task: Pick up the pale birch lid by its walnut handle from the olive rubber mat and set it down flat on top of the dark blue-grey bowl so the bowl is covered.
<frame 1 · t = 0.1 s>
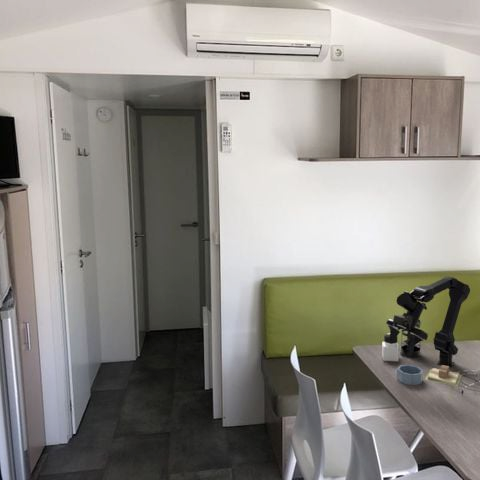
hand: (398, 347, 205), 15 cm above the table, tool tilted 30°, fingers open, 9 cm apart
bowl: (409, 380, 206), on the table
mat: (443, 378, 208), on the table
medicine bottle: (390, 358, 230), on the table
lid: (443, 377, 208), resting on mat
french press: (410, 354, 234), on the table
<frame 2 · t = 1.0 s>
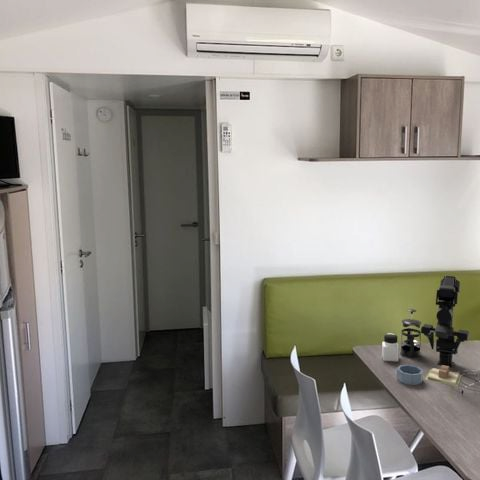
hand: (443, 351, 206), 12 cm above the table, tool pointing down, fingers open, 9 cm apart
nothing on the table moved.
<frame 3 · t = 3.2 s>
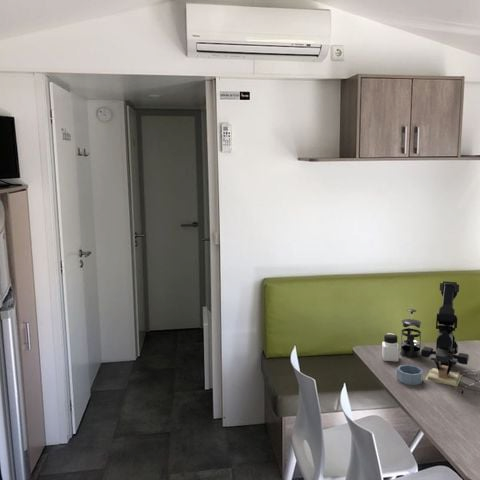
hand: (443, 373, 207), 2 cm above the table, tool pointing down, fingers closed on lid, 3 cm apart
lid: (443, 377, 208), resting on mat, touching gripper
everything else where it was.
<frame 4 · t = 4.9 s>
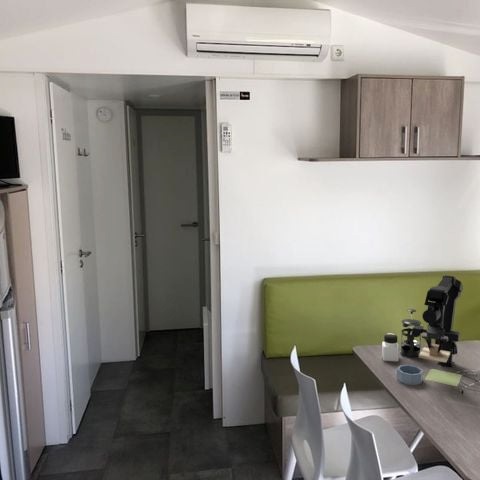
hand: (434, 352, 205), 12 cm above the table, tool pointing down, fingers closed on lid, 3 cm apart
lid: (434, 355, 205), point 11 cm above the table, touching gripper
everything else where it was.
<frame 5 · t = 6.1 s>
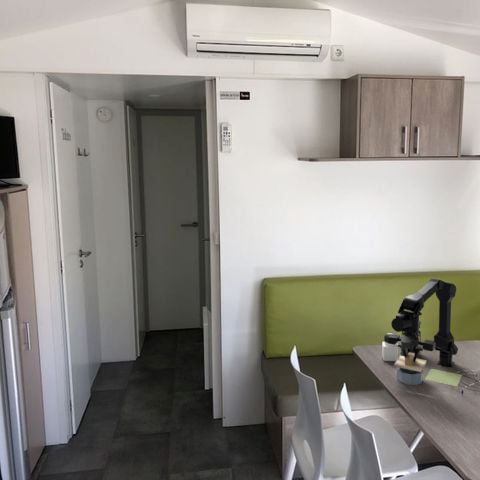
hand: (410, 361, 205), 9 cm above the table, tool pointing down, fingers closed on lid, 3 cm apart
lid: (410, 364, 205), point 7 cm above the table, touching gripper
everything else where it was.
when the fingers open (8 cm above the table, at t = 6.9 s): lid drops 1 cm, resting on bowl.
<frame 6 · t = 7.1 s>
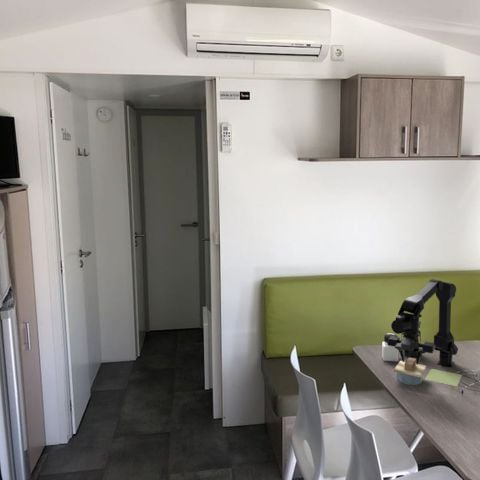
hand: (410, 363, 205), 8 cm above the table, tool pointing down, fingers open, 5 cm apart
lid: (410, 369, 205), point 5 cm above the table, touching bowl
everything else where it was.
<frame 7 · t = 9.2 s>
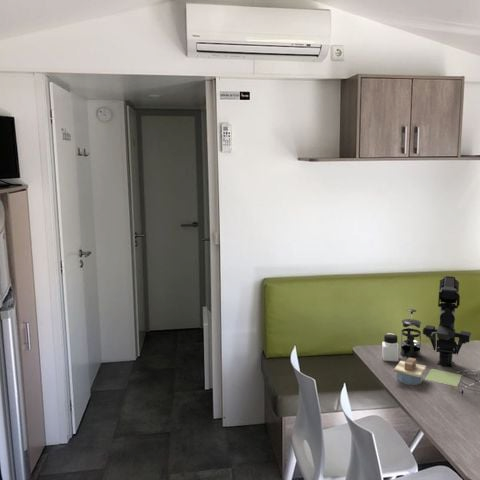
hand: (445, 352, 206), 12 cm above the table, tool pointing down, fingers open, 9 cm apart
nothing on the table moved.
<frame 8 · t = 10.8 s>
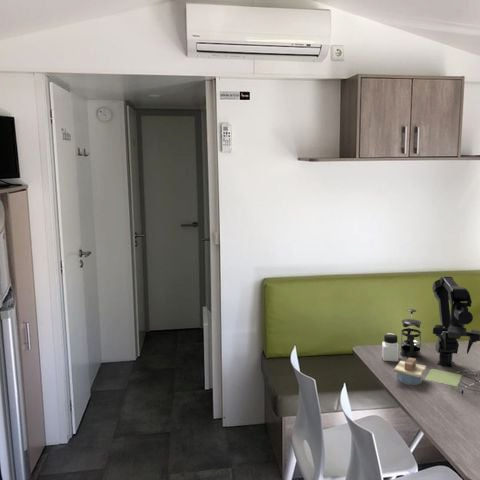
hand: (455, 351, 206), 12 cm above the table, tool pointing down, fingers open, 9 cm apart
nothing on the table moved.
at the end: lid 0.0 cm off-centre on the bowl, point 5.0 cm above the bowl's base; lid tilted 0°; the gripper is holding nothing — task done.
